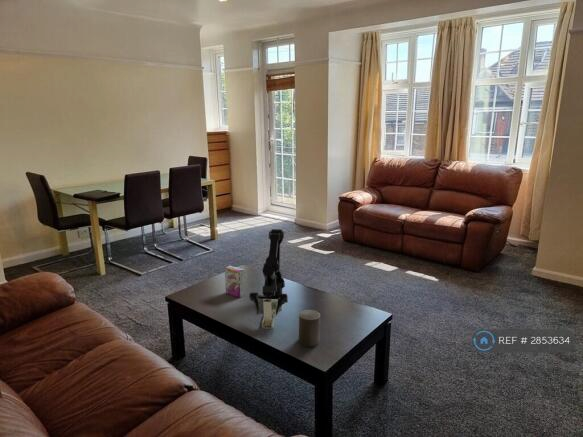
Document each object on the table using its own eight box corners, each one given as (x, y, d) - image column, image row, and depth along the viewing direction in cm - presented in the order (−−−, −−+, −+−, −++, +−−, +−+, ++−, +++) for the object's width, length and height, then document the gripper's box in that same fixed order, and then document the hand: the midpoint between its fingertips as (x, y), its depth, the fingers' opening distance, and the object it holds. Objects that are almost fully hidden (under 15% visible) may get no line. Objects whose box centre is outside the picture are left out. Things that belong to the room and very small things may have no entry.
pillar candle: (304, 349, 182) (304, 318, 179) (295, 338, 191) (295, 309, 187) (323, 344, 186) (324, 314, 182) (313, 334, 195) (314, 305, 191)
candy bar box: (225, 293, 239) (224, 267, 235) (231, 290, 243) (229, 265, 239) (240, 298, 233) (239, 271, 229) (245, 295, 237) (244, 268, 233)
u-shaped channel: (266, 314, 214) (266, 309, 213) (276, 314, 214) (276, 309, 213) (262, 328, 200) (261, 322, 199) (272, 328, 200) (272, 323, 199)
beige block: (267, 314, 213) (267, 290, 209) (274, 314, 212) (273, 291, 209) (264, 326, 201) (263, 301, 197) (271, 326, 200) (270, 301, 197)
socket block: (264, 305, 224) (264, 295, 223) (282, 306, 223) (282, 296, 222) (263, 309, 219) (263, 299, 218) (281, 310, 218) (281, 300, 217)
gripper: (249, 277, 200) (245, 308, 193) (287, 278, 199) (285, 309, 191) (252, 285, 210) (249, 315, 202) (288, 287, 208) (286, 317, 201)
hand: (267, 314), depth 199 cm, fingers open, 9 cm apart
